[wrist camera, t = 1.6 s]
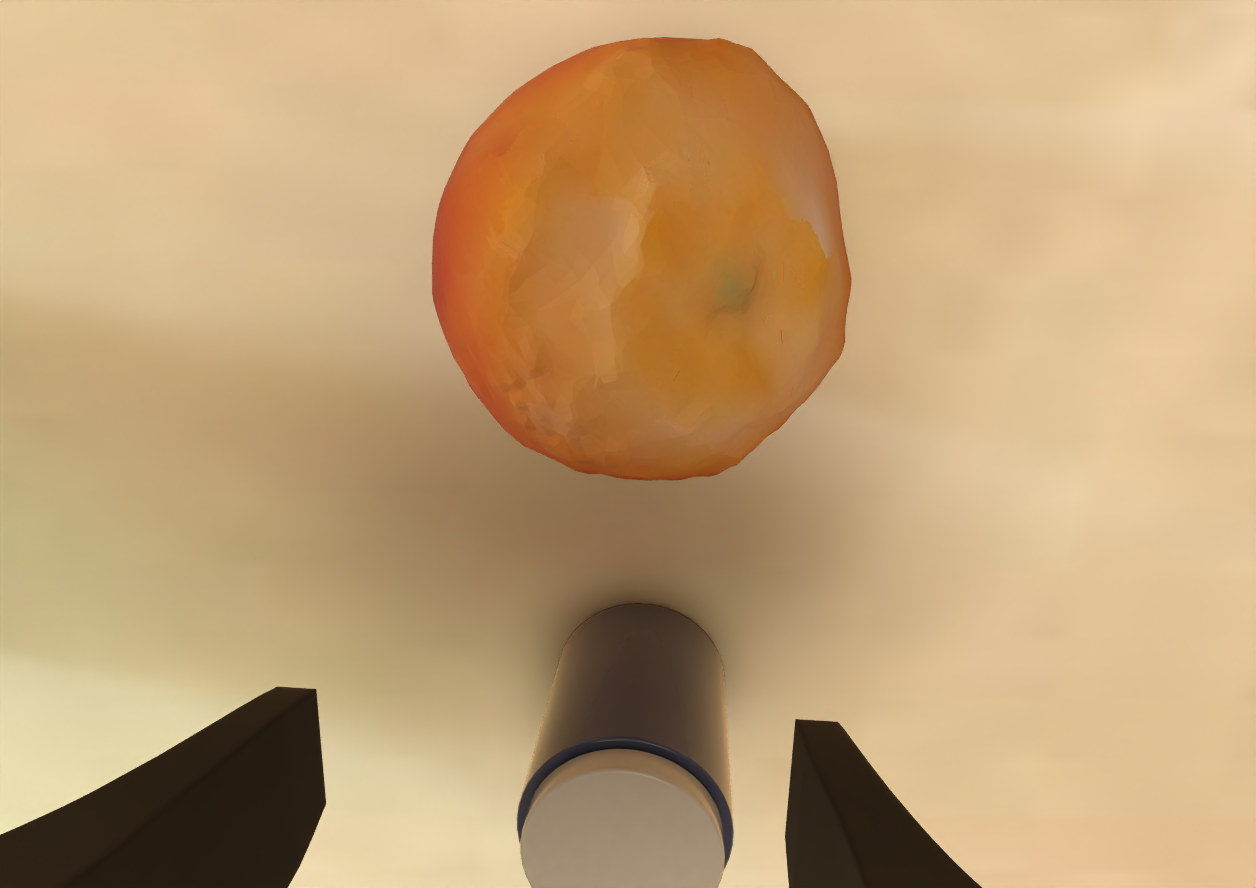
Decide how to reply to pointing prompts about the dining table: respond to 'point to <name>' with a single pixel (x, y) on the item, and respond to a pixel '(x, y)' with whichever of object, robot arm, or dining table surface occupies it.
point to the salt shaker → (631, 759)
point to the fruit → (644, 259)
